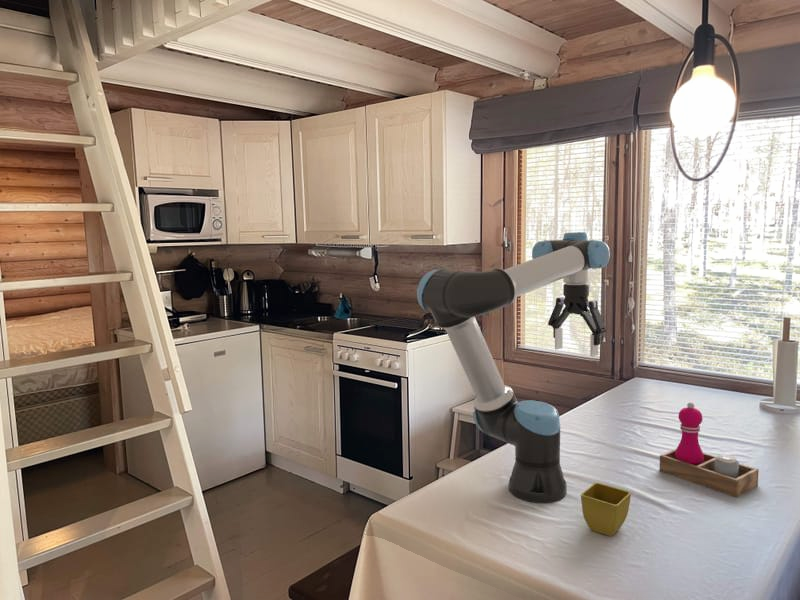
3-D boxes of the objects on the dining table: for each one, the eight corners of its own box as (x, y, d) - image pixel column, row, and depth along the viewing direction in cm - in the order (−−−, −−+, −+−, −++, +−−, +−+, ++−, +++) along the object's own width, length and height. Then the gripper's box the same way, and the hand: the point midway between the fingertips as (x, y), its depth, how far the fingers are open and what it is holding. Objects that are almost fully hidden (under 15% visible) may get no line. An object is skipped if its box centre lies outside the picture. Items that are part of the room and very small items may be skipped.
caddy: (736, 501, 151) (737, 480, 150) (659, 473, 168) (659, 455, 168) (757, 489, 157) (758, 469, 156) (681, 464, 174) (681, 446, 174)
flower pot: (631, 528, 139) (632, 491, 138) (616, 543, 133) (617, 505, 132) (595, 516, 145) (595, 481, 144) (579, 531, 139) (579, 494, 138)
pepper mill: (697, 466, 170) (699, 398, 167) (707, 477, 163) (709, 406, 160) (670, 466, 171) (672, 398, 168) (680, 477, 163) (682, 406, 161)
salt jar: (731, 490, 154) (732, 463, 154) (709, 483, 159) (710, 457, 158) (742, 484, 158) (743, 458, 157) (720, 477, 162) (721, 452, 161)
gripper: (619, 285, 172) (618, 356, 175) (552, 280, 193) (552, 344, 195) (602, 287, 168) (602, 360, 171) (536, 281, 189) (537, 347, 191)
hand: (575, 352), depth 183 cm, fingers open, 13 cm apart
